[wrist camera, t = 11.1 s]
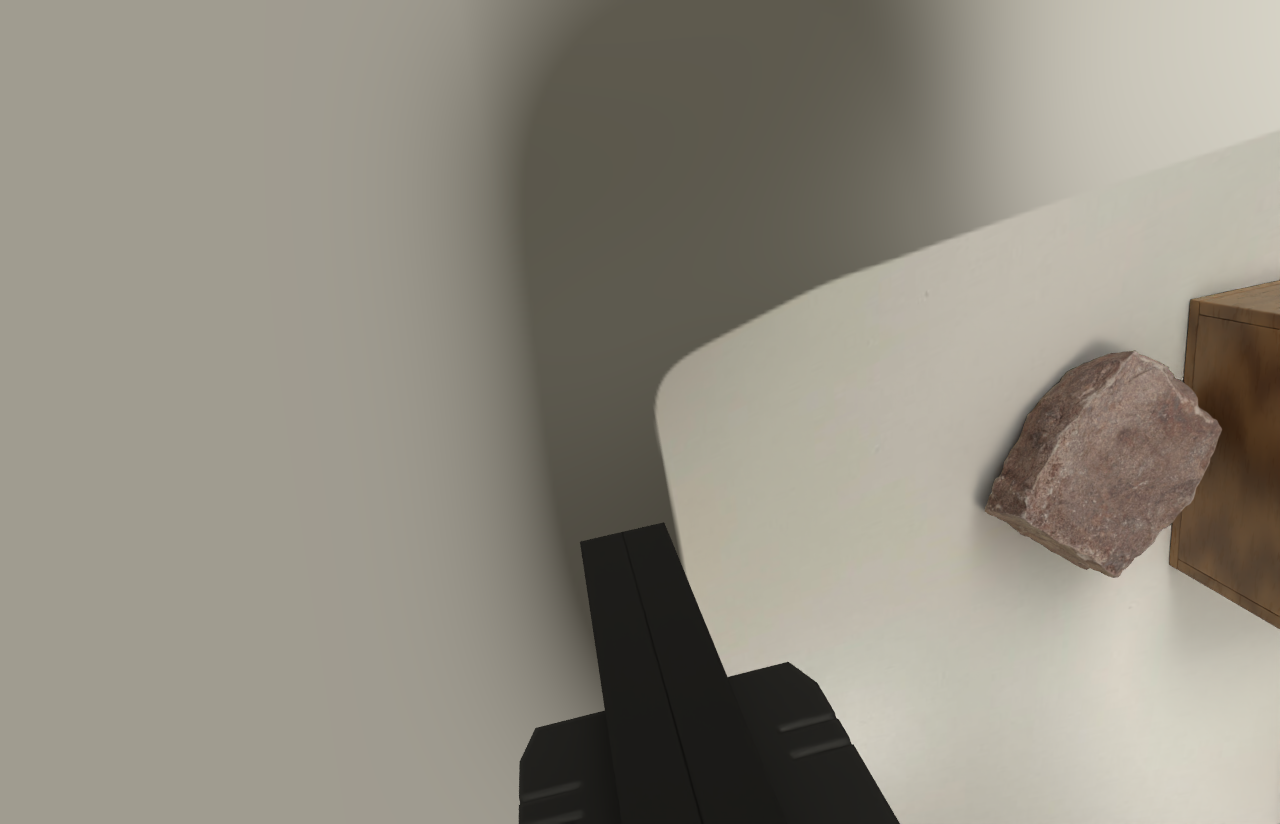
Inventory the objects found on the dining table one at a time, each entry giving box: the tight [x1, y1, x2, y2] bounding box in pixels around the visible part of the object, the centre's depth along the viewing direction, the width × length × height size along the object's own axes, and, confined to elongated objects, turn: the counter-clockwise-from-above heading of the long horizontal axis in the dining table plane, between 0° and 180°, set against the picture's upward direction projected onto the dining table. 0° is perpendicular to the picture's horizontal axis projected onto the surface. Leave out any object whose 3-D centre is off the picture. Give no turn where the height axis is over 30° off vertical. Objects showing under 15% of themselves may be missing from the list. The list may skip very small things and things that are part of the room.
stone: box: [985, 351, 1222, 578], centre depth 40 cm, size 12×9×5 cm
